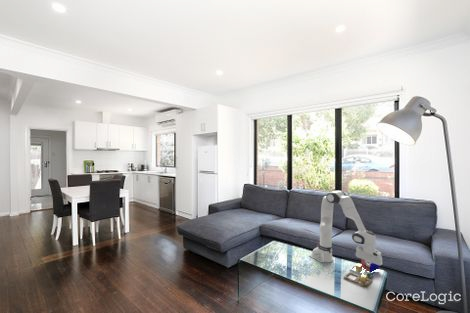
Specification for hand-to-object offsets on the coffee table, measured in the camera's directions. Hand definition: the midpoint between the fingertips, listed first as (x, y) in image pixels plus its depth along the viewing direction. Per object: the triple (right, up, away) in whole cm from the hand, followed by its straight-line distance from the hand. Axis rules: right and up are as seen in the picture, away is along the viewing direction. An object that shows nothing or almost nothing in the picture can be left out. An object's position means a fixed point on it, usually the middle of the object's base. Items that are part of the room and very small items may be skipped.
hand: (367, 265), depth 196 cm
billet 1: (-3, -9, +8) cm, 13 cm away
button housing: (+1, -10, 0) cm, 10 cm away
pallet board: (-11, -10, -4) cm, 16 cm away
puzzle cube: (+8, -10, +11) cm, 17 cm away
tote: (-3, -10, +9) cm, 14 cm away
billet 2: (-8, -11, -8) cm, 15 cm away
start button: (+1, -8, 0) cm, 8 cm away
